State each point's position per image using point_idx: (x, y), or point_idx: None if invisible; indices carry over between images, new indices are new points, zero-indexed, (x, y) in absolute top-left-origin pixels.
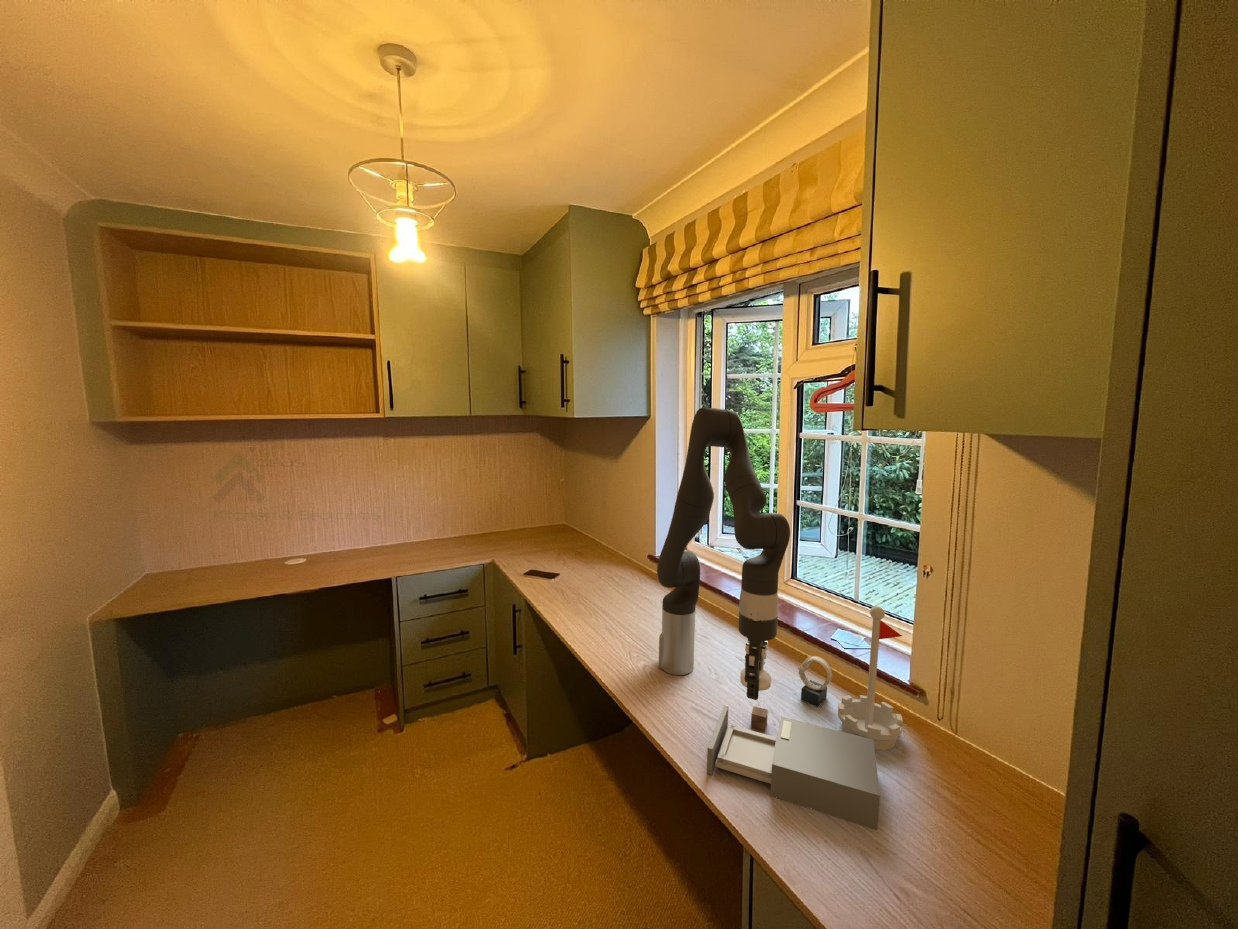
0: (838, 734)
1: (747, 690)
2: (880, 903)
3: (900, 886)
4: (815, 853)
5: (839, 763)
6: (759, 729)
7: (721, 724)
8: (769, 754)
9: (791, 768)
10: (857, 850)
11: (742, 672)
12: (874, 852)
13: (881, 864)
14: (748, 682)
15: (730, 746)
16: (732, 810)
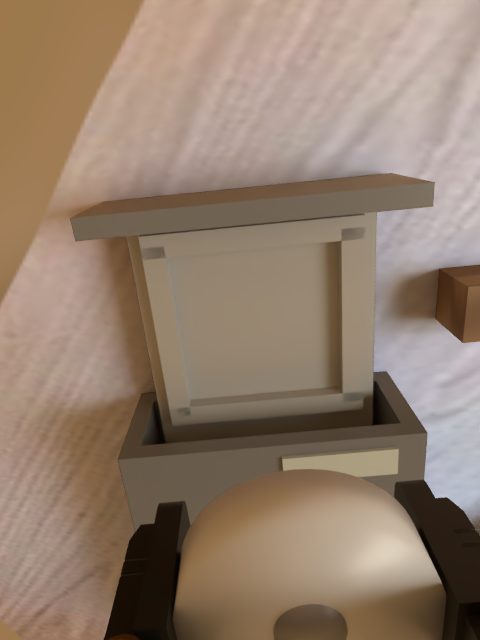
0: None
1: (151, 546)
2: (5, 595)
3: (66, 616)
4: (33, 503)
5: None
6: (439, 300)
7: (268, 220)
8: (275, 381)
9: (137, 509)
10: (100, 561)
11: (296, 541)
12: (116, 584)
13: (95, 593)
14: (140, 618)
15: (247, 253)
16: (20, 319)
